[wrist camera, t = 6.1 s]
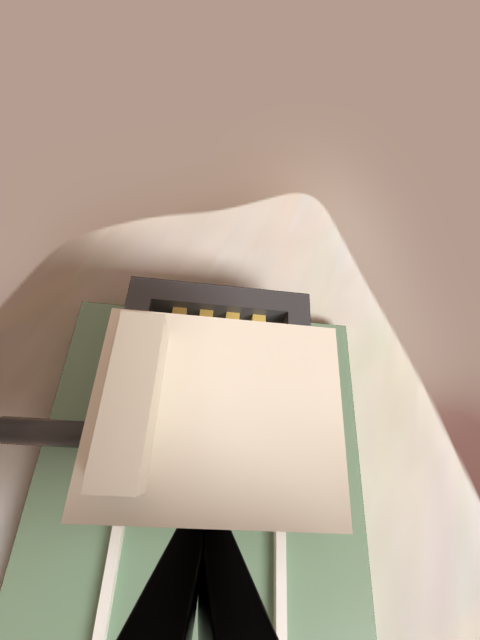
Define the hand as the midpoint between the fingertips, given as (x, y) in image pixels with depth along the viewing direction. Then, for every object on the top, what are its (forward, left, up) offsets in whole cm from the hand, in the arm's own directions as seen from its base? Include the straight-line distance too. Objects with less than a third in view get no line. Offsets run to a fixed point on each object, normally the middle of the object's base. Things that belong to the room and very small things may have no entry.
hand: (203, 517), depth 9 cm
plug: (+2, +3, -6) cm, 7 cm away
